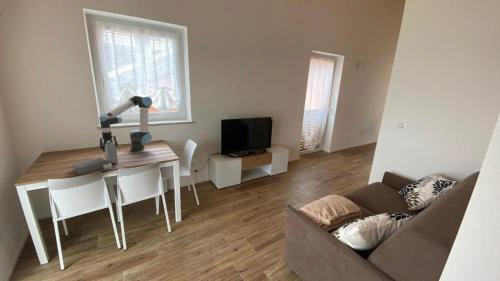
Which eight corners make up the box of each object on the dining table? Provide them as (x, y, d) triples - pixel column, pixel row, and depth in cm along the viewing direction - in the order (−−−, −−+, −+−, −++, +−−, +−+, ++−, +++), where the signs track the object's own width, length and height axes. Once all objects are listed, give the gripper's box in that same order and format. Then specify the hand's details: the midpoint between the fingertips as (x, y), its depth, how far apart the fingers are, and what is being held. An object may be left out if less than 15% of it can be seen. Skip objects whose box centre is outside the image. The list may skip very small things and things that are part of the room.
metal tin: (110, 167, 201) (109, 162, 199) (113, 168, 197) (113, 164, 196) (102, 169, 195) (101, 164, 194) (105, 171, 192) (104, 166, 190)
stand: (100, 162, 209) (99, 157, 207) (107, 166, 201) (106, 160, 200) (73, 170, 191) (72, 164, 190) (79, 174, 184) (78, 168, 182)
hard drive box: (118, 162, 208) (115, 143, 203) (109, 164, 203) (106, 145, 197) (113, 158, 218) (110, 139, 212) (105, 159, 213) (101, 141, 207)
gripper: (116, 129, 212) (119, 149, 218) (92, 133, 195) (96, 155, 202) (119, 130, 208) (123, 151, 214) (95, 134, 191) (100, 157, 198)
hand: (110, 153), depth 208 cm, fingers closed on hard drive box, 8 cm apart
